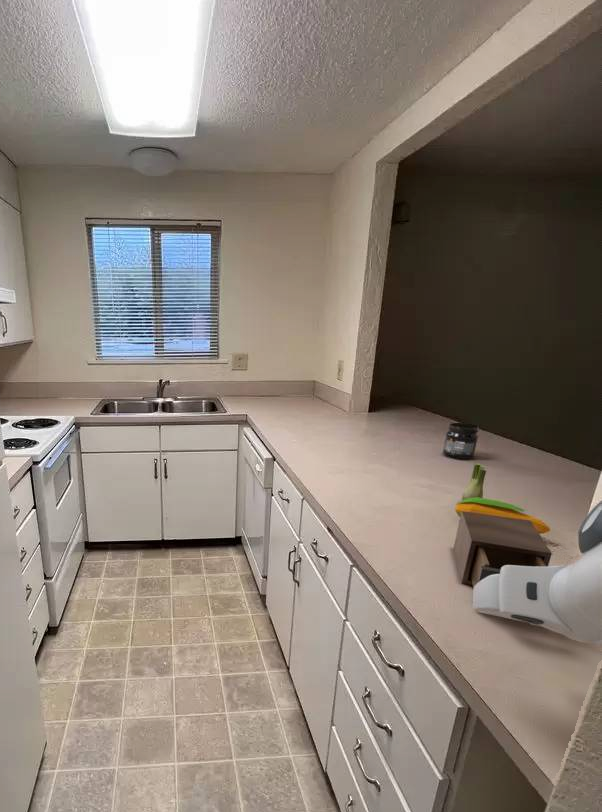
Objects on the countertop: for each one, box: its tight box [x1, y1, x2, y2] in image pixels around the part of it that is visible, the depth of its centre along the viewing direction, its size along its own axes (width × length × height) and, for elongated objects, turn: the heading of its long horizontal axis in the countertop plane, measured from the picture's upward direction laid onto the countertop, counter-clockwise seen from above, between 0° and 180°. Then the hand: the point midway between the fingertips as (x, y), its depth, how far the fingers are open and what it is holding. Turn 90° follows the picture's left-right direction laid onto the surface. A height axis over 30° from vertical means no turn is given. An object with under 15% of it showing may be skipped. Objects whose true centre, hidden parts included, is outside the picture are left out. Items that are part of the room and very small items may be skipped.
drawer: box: [469, 545, 546, 606], centre depth 80 cm, size 18×12×8 cm, turn 157°
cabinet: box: [452, 511, 553, 586], centre depth 90 cm, size 15×13×10 cm
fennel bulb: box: [461, 462, 487, 501], centre depth 122 cm, size 6×5×12 cm
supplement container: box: [442, 422, 479, 460], centre depth 165 cm, size 10×10×12 cm
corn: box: [454, 497, 551, 535], centre depth 108 cm, size 7×8×20 cm
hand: (541, 621), depth 64 cm, fingers closed
